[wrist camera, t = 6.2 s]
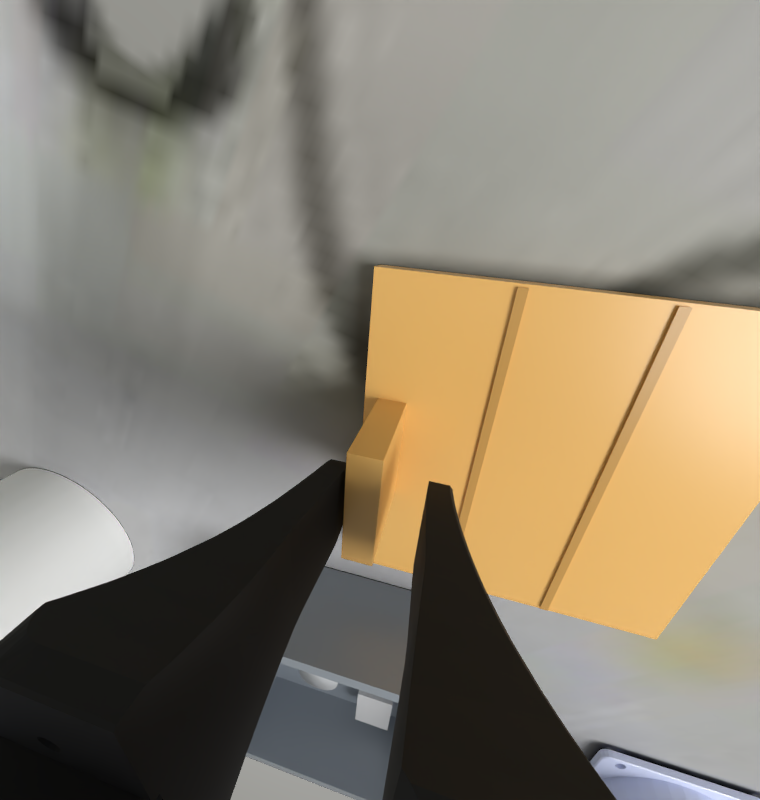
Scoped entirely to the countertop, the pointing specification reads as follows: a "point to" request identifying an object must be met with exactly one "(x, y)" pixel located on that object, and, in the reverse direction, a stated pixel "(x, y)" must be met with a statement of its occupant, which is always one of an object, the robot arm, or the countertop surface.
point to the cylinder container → (53, 543)
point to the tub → (338, 687)
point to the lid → (558, 438)
